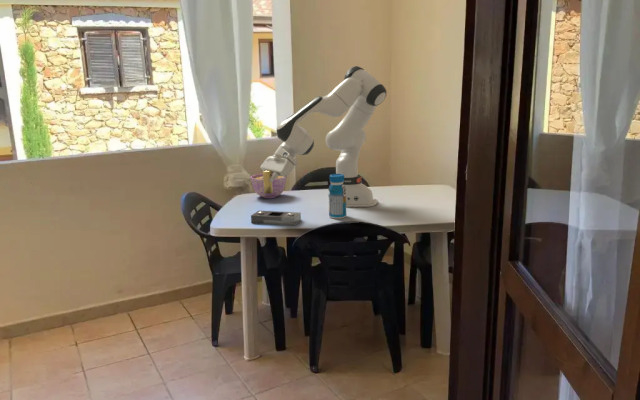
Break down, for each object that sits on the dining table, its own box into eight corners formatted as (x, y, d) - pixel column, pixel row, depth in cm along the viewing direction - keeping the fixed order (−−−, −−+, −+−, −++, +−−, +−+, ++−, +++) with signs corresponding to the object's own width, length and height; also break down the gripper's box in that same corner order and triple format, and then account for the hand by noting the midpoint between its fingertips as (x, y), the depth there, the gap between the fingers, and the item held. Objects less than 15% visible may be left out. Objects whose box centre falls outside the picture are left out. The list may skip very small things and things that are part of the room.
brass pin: (273, 191, 242) (272, 170, 240) (272, 193, 238) (271, 172, 236) (264, 191, 242) (263, 170, 240) (263, 193, 238) (262, 172, 236)
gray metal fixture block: (300, 219, 242) (300, 211, 241) (294, 225, 233) (294, 216, 232) (259, 217, 248) (258, 209, 247) (251, 222, 239) (250, 214, 238)
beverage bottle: (333, 220, 240) (332, 177, 235) (326, 215, 247) (324, 174, 242) (349, 217, 243) (349, 175, 238) (341, 213, 250) (341, 172, 246)
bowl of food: (294, 194, 292) (293, 174, 290) (273, 202, 276) (272, 181, 273) (266, 191, 303) (265, 171, 300) (244, 198, 287) (242, 178, 284)
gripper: (267, 150, 248) (250, 173, 245) (291, 154, 232) (273, 179, 229) (275, 158, 252) (259, 181, 248) (299, 163, 236) (282, 187, 232)
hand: (266, 180), depth 238 cm, fingers closed on brass pin, 4 cm apart
